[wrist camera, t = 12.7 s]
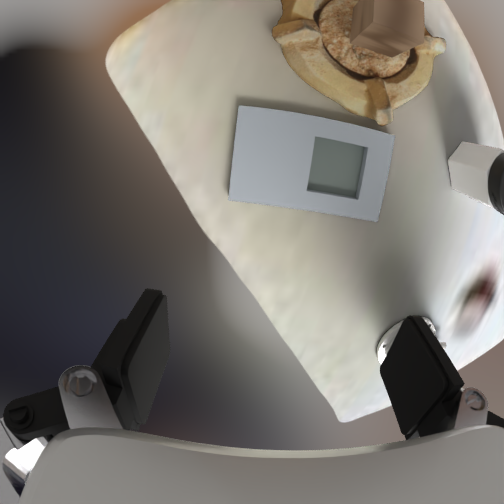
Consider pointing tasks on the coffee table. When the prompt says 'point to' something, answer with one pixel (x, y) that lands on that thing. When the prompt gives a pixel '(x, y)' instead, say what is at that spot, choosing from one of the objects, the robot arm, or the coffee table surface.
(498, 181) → the jar
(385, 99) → the ashtray
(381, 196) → the pocket board
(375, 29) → the block
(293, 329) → the coffee table surface
